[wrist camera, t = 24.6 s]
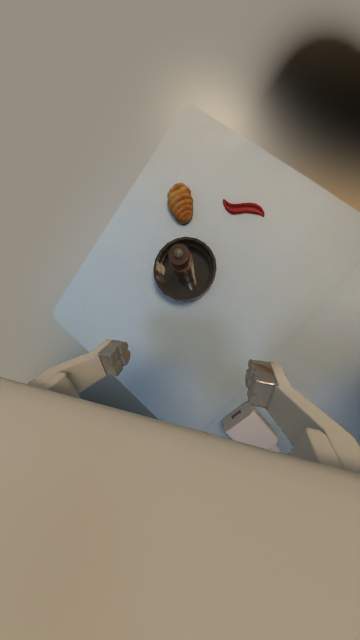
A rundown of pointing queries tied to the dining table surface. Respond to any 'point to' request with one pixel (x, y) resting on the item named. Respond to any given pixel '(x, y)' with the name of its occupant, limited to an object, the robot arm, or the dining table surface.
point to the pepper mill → (181, 262)
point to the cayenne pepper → (243, 208)
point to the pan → (202, 267)
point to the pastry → (181, 202)
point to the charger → (250, 428)
